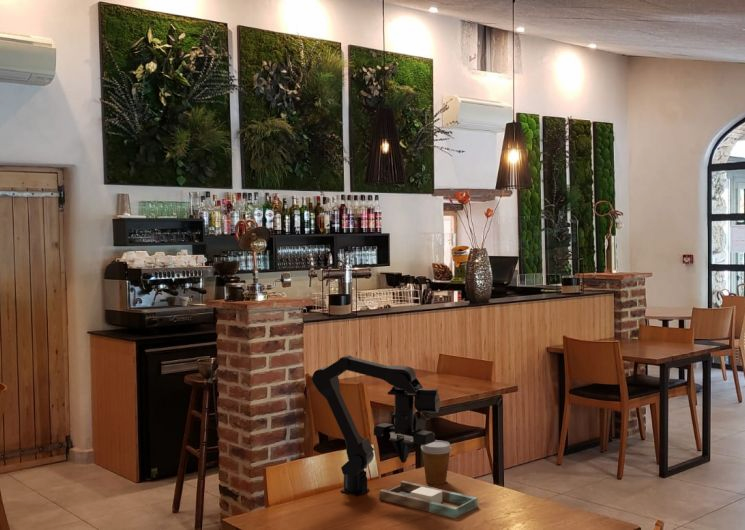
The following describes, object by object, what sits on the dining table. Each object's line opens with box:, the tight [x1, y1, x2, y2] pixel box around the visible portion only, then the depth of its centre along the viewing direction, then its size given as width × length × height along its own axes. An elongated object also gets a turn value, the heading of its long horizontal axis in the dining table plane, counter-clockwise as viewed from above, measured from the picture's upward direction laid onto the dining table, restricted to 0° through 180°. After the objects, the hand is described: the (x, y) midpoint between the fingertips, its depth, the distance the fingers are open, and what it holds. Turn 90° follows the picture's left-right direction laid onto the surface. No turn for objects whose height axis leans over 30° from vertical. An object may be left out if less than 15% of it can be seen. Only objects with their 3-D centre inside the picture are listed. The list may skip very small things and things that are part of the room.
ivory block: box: [411, 487, 443, 504], centre depth 236 cm, size 7×6×4 cm
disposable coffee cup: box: [420, 439, 452, 485], centre depth 255 cm, size 10×10×12 cm
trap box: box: [379, 480, 479, 519], centre depth 236 cm, size 26×12×2 cm, turn 52°
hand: (403, 462), depth 241 cm, fingers closed
